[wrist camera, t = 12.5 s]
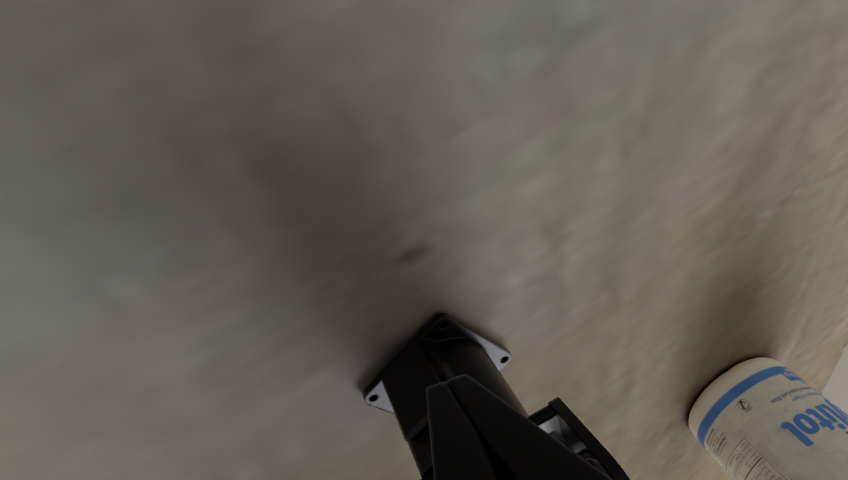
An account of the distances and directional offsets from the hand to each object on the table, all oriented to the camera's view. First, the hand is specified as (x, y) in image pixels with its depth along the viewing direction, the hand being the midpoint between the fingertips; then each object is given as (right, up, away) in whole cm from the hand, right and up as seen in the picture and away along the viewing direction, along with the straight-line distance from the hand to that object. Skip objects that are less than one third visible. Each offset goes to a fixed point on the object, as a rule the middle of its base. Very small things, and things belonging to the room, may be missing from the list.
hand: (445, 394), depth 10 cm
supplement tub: (+26, -10, +34) cm, 44 cm away
